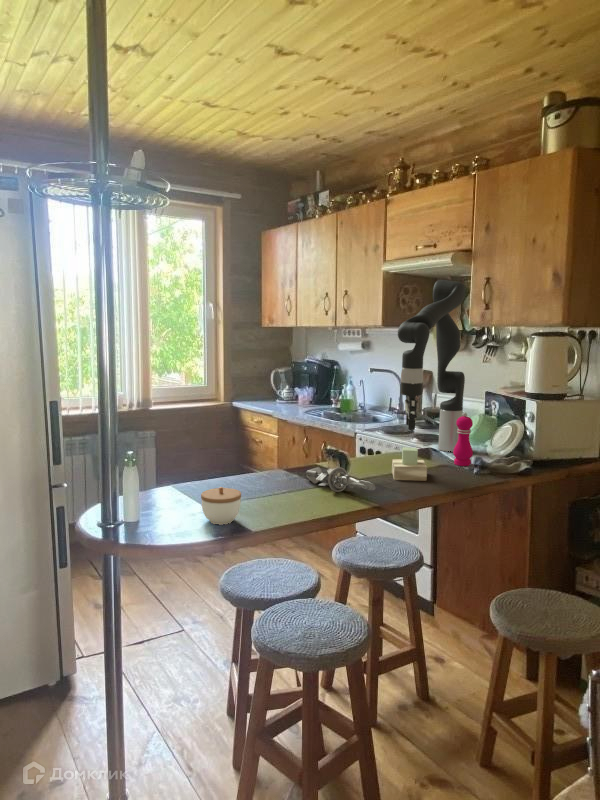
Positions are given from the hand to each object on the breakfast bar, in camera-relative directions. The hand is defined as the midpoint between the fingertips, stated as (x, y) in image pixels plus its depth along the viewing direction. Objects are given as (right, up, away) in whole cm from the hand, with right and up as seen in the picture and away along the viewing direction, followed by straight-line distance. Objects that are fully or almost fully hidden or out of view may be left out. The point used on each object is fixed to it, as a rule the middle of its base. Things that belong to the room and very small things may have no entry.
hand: (410, 427), depth 208 cm
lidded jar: (-60, -23, -46) cm, 79 cm away
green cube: (0, -13, +2) cm, 13 cm away
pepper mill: (+24, -15, +20) cm, 34 cm away
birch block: (0, -18, +2) cm, 18 cm away
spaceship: (-26, -20, -18) cm, 37 cm away
